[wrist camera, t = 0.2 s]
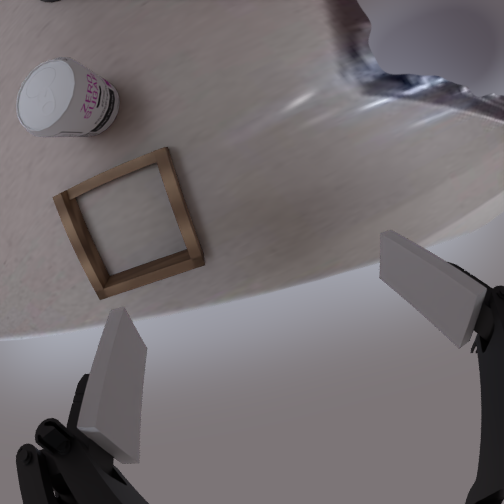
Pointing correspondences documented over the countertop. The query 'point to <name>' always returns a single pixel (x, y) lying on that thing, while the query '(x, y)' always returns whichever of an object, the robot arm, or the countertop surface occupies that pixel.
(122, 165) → the dock bay
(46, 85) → the supplement can
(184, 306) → the countertop surface
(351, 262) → the countertop surface
